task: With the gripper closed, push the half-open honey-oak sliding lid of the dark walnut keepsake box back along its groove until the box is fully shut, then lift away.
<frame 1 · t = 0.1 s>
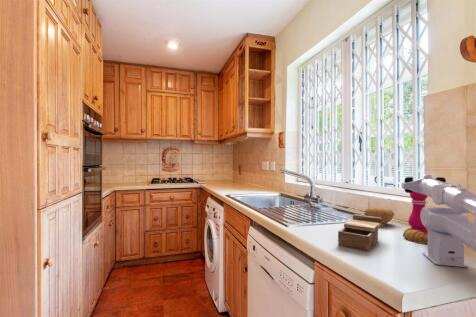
hand: (417, 182, 98), 22 cm above the counter, tool horizontal, fingers open, 7 cm apart
pastry: (417, 241, 99), on the counter
potato: (379, 224, 122), on the counter
pepper mill: (419, 233, 107), on the counter
keepsake box: (358, 244, 94), on the counter
lid: (363, 222, 99), point 7 cm above the counter, slide at 6.0 cm
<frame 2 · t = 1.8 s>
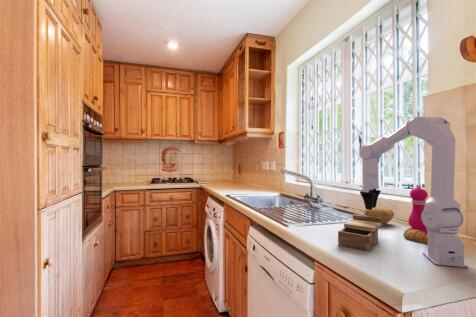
hand: (370, 208, 107), 10 cm above the counter, tool pointing down, fingers open, 5 cm apart
nothing on the counter moved.
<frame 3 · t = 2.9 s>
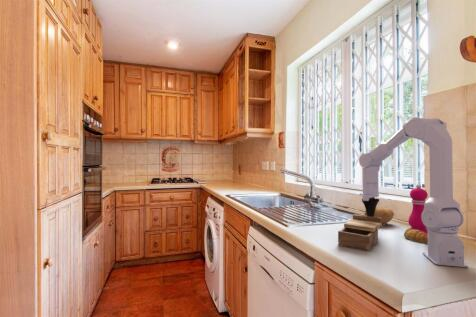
hand: (370, 216, 107), 7 cm above the counter, tool pointing down, fingers closed
nothing on the counter moved.
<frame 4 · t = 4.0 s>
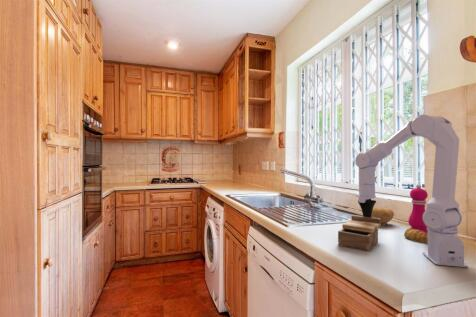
hand: (367, 218, 103), 7 cm above the counter, tool pointing down, fingers closed
lid: (361, 223, 97), point 7 cm above the counter, slide at 4.4 cm, touching gripper
everything else where it was.
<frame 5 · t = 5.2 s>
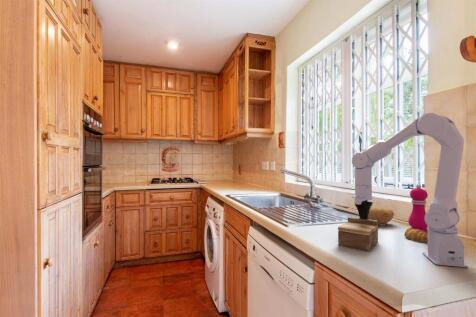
hand: (363, 221, 99), 7 cm above the counter, tool pointing down, fingers closed
lid: (358, 225, 94), point 7 cm above the counter, slide at -0.1 cm, touching gripper
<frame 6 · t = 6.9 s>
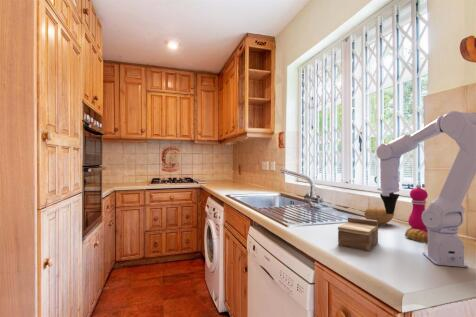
hand: (390, 213, 97), 10 cm above the counter, tool pointing down, fingers closed
lid: (358, 225, 94), point 7 cm above the counter, slide at 0.0 cm
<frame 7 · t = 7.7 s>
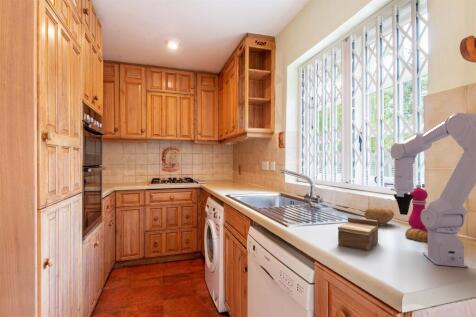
hand: (403, 214, 95), 10 cm above the counter, tool pointing down, fingers closed
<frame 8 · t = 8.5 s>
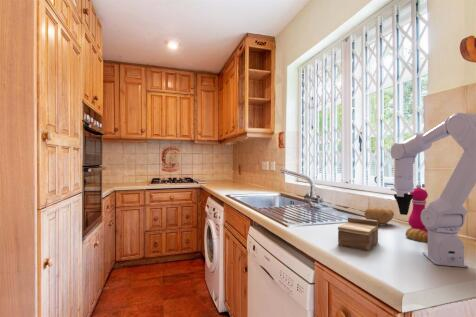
hand: (403, 214, 95), 10 cm above the counter, tool pointing down, fingers closed
at the end: lid slide at 0.0 cm; the gripper is holding nothing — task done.
